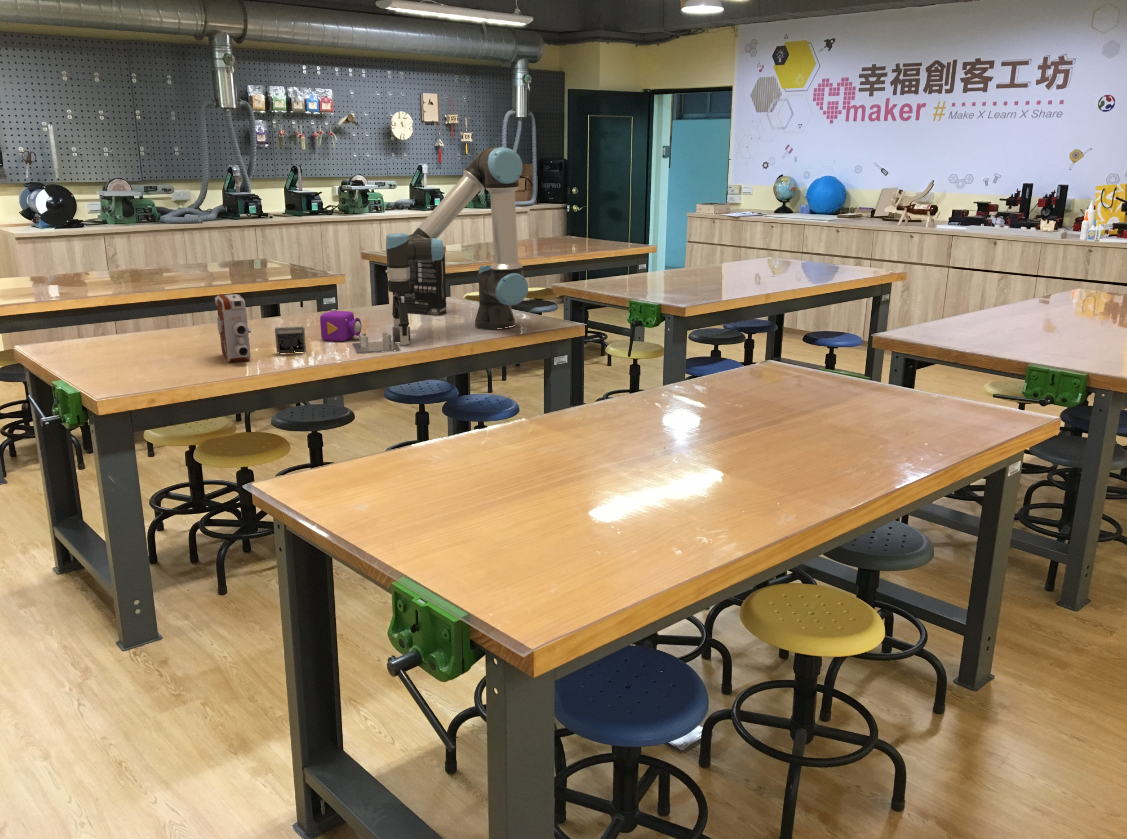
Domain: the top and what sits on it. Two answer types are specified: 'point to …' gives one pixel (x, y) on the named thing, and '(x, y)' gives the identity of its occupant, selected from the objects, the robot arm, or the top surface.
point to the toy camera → (339, 325)
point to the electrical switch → (290, 339)
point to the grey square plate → (375, 344)
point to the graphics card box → (427, 287)
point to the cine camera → (233, 327)
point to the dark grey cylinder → (398, 333)
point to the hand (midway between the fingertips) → (401, 340)
